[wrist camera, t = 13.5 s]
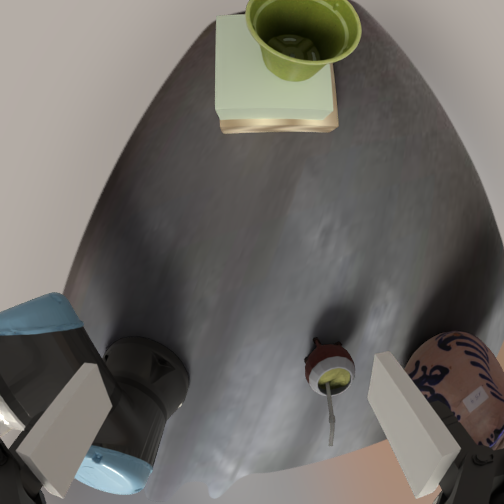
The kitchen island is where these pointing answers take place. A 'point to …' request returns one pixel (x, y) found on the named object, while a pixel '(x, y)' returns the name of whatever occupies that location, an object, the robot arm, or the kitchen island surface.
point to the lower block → (285, 121)
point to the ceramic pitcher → (463, 383)
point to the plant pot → (302, 34)
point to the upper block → (262, 80)
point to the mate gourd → (329, 373)
